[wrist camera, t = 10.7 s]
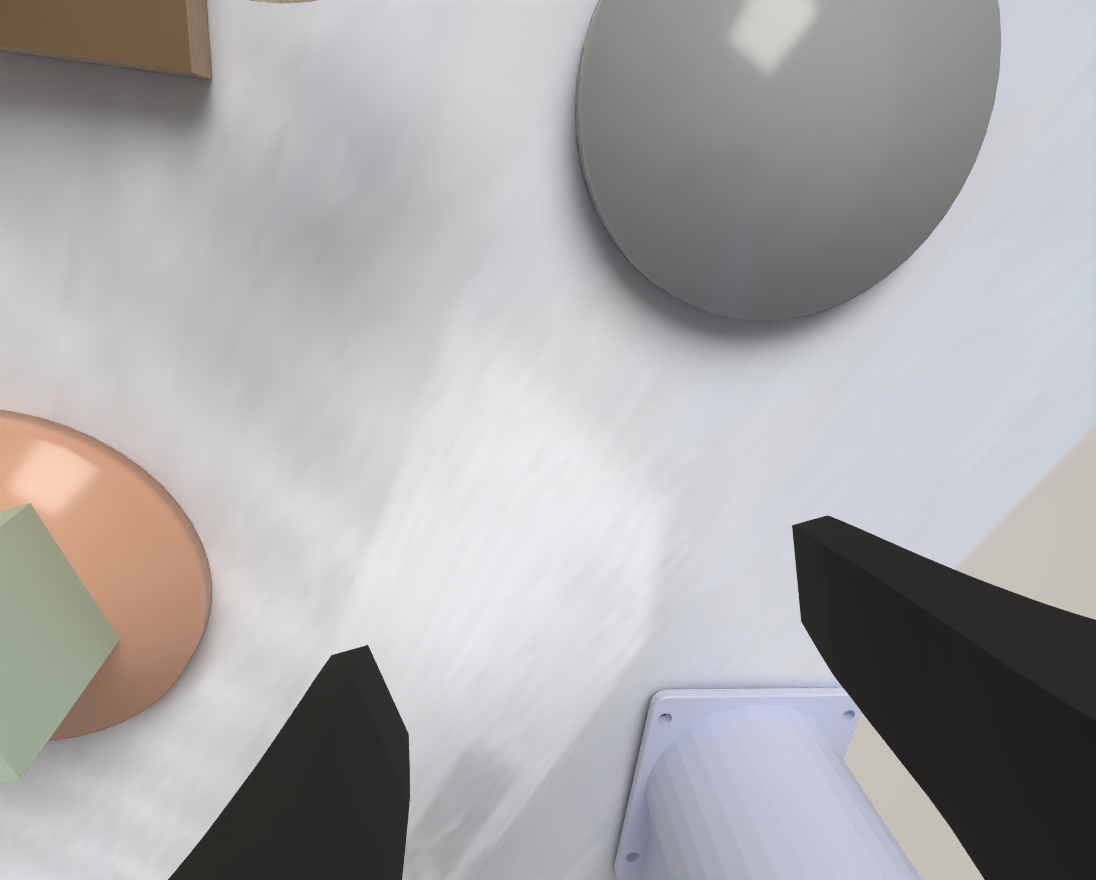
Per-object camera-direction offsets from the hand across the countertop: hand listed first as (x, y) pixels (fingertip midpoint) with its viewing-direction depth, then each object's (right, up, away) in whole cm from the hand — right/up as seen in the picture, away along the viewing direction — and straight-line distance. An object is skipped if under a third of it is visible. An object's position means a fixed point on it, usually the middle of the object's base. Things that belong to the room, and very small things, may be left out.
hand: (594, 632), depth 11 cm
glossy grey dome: (+5, +11, +5) cm, 13 cm away
